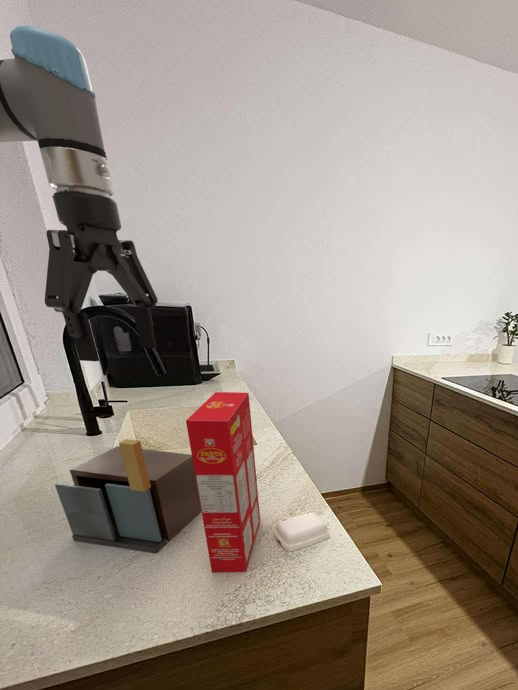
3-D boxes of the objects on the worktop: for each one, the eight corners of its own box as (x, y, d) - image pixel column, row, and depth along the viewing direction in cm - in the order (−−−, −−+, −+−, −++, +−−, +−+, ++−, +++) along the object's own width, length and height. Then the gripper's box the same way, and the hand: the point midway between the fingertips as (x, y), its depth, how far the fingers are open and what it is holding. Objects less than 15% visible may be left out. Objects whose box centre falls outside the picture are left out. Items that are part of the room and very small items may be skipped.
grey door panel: (117, 537, 66) (88, 439, 58) (124, 532, 67) (96, 435, 59) (157, 544, 65) (133, 444, 57) (163, 538, 66) (140, 440, 58)
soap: (287, 553, 66) (286, 539, 65) (271, 534, 71) (270, 520, 69) (332, 537, 71) (332, 523, 69) (314, 520, 76) (314, 507, 74)
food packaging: (232, 521, 74) (215, 392, 63) (260, 521, 75) (248, 392, 63) (211, 572, 61) (185, 420, 50) (245, 571, 61) (227, 421, 50)
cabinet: (73, 540, 67) (50, 478, 61) (131, 500, 80) (117, 446, 74) (156, 553, 65) (140, 490, 59) (203, 509, 77) (193, 454, 72)
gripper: (23, 170, 42) (81, 369, 52) (164, 210, 64) (186, 344, 74) (-35, 170, 43) (32, 365, 53) (123, 210, 65) (150, 342, 75)
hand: (122, 353), depth 63 cm, fingers open, 13 cm apart
